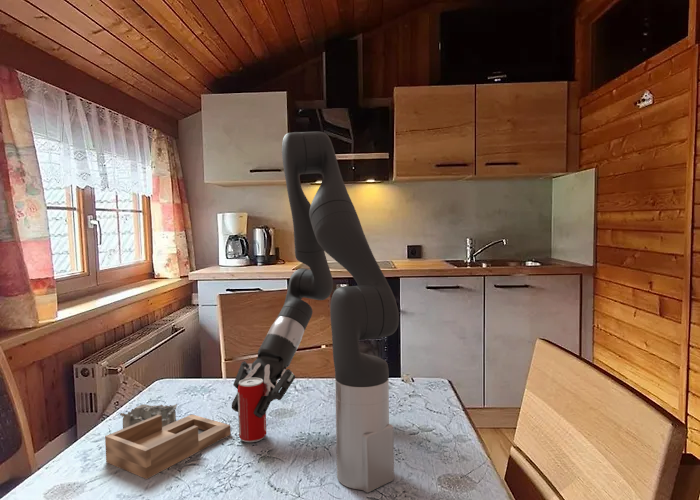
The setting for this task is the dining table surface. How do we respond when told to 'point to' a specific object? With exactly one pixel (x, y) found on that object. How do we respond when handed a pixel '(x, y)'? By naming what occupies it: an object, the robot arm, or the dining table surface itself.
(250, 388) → the soda can
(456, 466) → the dining table surface
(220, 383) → the dining table surface
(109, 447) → the two-compartment wooden tray
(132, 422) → the grey piece
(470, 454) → the dining table surface
